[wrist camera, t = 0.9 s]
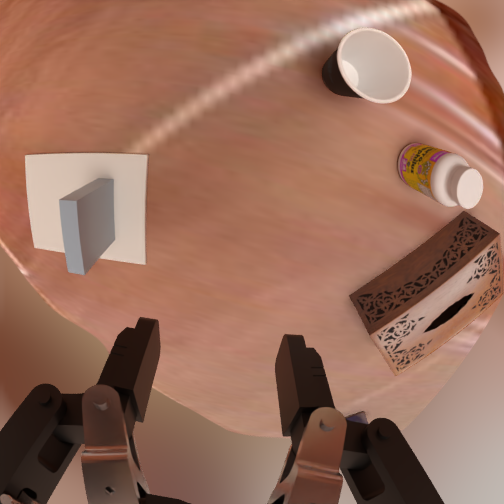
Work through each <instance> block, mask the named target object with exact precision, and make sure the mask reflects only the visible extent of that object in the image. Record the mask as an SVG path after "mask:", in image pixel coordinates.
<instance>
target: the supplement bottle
mask: <svg viewBox="0 0 504 504" xmlns="http://www.w3.org/2000/svg"><path fill="white" fill-rule="evenodd" d="M398 171H399V174H400V177H401V178H402V180H403V181H404V182H405V183H406V184H407V185H409V186H410V187H412V188H414V189H416V190H417V191H419V192H421V193H423V194H425V195H427V196H428V197H430V198H432V199H434V200H435V201H437V202H439V203H440V204H442V205H444V206H448V207H454V206H457V205H459V206H461V207H463V208H466V209H469V208H472V207H474V206H475V205H476V204H477V203H478V202H479V200H480V198H481V195H482V192H483V180H482V177H481V175H480V173H479V172H478V171H477V170H475V169H474V168H471V167H469V165H468V163H467V162H466V160H465V159H464V158H463V157H461V156H460V155H458V154H455V153H451V152H448V151H445V150H441V149H438V148H434V147H431V146H427V145H424V144H419V143H413V144H410V145H408V146H406V147H405V148H404V149H403V151H402V152H401V154H400V156H399V160H398Z"/></svg>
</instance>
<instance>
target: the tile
mask: <svg viewBox="0 0 504 504" xmlns="http://www.w3.org/2000/svg"><path fill="white" fill-rule="evenodd" d="M59 207H60V218H61V227H62V235H63V243H64V250H65V256H66V262H67V267H68V272H71V273H76V274H81V275H85V274H86V273H87V272H88V271H89V269H90V268H91V267H92V266H93V265H94V263H95V262H96V261H97V260H98V259H99V258H100V256H101V255H102V254H103V253H104V252H105V251H106V250H107V248H108V247H109V246H110V245H111V244H112V243H113V242H114V241H115V223H114V179H105V178H98V179H96V180H94V181H92V182H90V183H88V184H86V185H84V186H83V187H81V188H79V189H77V190H75V191H73V192H72V193H70V194H68V195H66V196H65V197H63V198H61V199H59Z"/></svg>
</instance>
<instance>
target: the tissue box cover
mask: <svg viewBox="0 0 504 504" xmlns="http://www.w3.org/2000/svg"><path fill="white" fill-rule="evenodd" d="M502 294H503V262H502V249H501V239H500V234H499V233H498V232H496V231H495V230H493V229H492V228H490V227H489V226H487V225H486V224H484V223H483V222H481V221H479V220H478V219H476V218H475V217H473V216H471V215H470V214H468V213H466V212H465V211H463V212H462V213H461V214H460V215H458V216H457V217H456V218H455V219H454V220H452V221H451V222H450V223H449V224H447V225H446V226H445V227H444V228H443V229H441V230H440V231H439V232H438V233H436V234H435V235H434V236H432V237H431V238H430V239H429V240H427V241H426V242H425V243H423V244H422V245H421V246H419V247H418V248H417V249H415V250H414V251H413V252H411V253H410V254H409V255H407V256H406V257H405V258H403V259H402V260H400V261H399V262H398V263H396V264H395V265H394V266H392V267H391V268H389V269H388V270H386V271H385V272H384V273H382V274H381V275H379V276H378V277H376V278H375V279H373V280H372V281H370V282H369V283H367V284H366V285H364V286H363V287H361V288H360V289H358V290H357V291H355V292H354V293H352V294H351V295H349V296H350V298H351V300H352V302H353V304H354V306H355V307H356V309H357V311H358V313H359V315H360V317H361V319H362V321H363V323H364V325H365V327H366V329H367V331H368V333H369V335H370V337H371V338H372V340H373V341H374V343H375V345H376V346H377V348H378V349H379V351H380V352H381V354H382V356H383V357H384V359H385V360H386V362H387V364H388V365H389V367H390V369H391V370H392V372H393V373H394V375H395V376H397V375H399V374H400V373H402V372H403V371H405V370H407V369H408V368H410V367H411V366H413V365H414V364H416V363H417V362H419V361H420V360H422V359H423V358H425V357H426V356H428V355H429V354H431V353H432V352H434V351H435V350H436V349H438V348H439V347H441V346H442V345H443V344H445V343H446V342H447V341H449V340H450V339H451V338H453V337H454V336H455V335H456V334H458V333H459V332H460V331H461V330H463V329H464V328H465V327H466V326H468V325H469V324H470V323H471V322H472V321H474V320H475V319H476V318H477V317H478V316H479V315H481V314H482V313H483V312H484V311H485V310H486V309H487V308H488V307H490V306H491V305H492V304H493V303H494V302H495V301H496V300H497V299H498V298H499V297H500V296H501V295H502Z"/></svg>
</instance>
